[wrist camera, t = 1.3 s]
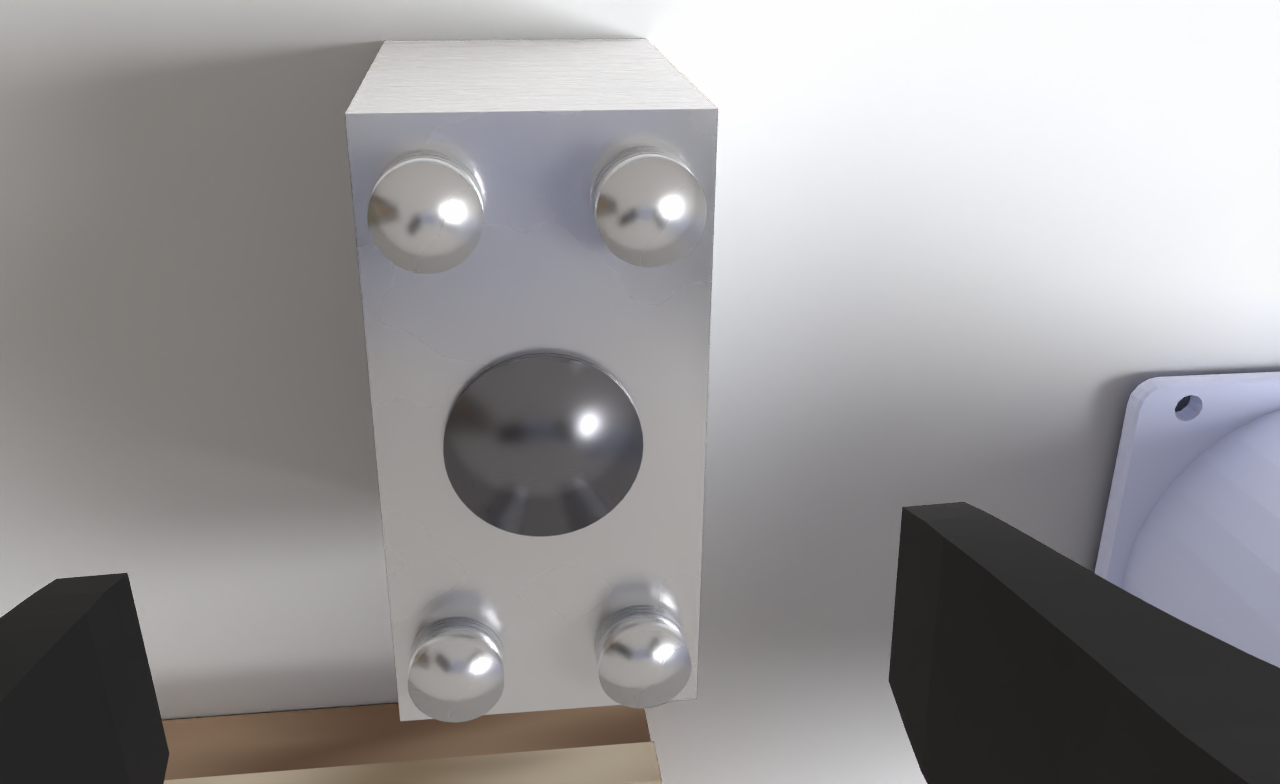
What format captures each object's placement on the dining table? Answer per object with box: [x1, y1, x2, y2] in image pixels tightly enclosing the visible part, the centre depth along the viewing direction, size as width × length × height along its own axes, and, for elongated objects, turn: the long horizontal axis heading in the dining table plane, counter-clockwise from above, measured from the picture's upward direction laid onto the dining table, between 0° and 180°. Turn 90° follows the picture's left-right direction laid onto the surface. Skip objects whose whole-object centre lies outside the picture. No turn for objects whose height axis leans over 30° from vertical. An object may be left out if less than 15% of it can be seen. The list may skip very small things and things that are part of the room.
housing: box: [345, 39, 718, 722], centre depth 17 cm, size 4×8×7 cm, turn 0°
